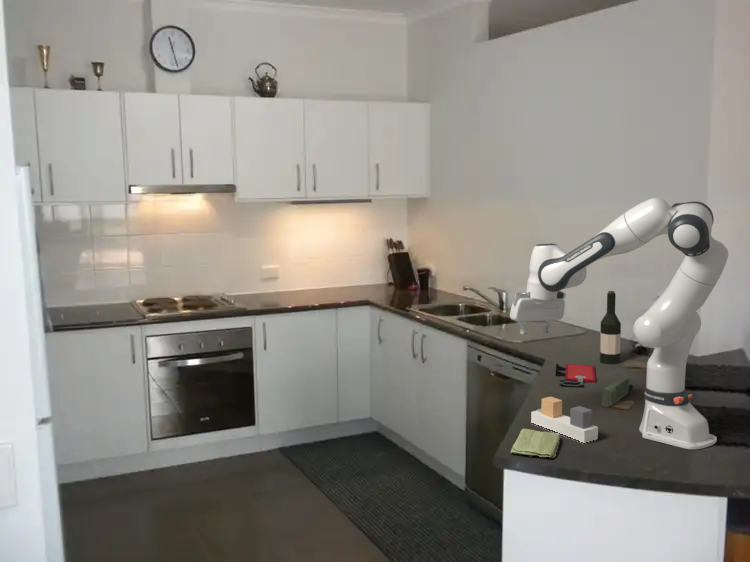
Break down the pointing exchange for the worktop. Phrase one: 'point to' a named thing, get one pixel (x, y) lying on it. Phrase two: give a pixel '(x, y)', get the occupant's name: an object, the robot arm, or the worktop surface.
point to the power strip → (565, 427)
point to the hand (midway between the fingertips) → (534, 333)
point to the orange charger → (551, 407)
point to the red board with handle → (576, 374)
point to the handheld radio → (616, 391)
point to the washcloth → (536, 443)
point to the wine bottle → (610, 333)
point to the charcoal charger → (581, 417)
